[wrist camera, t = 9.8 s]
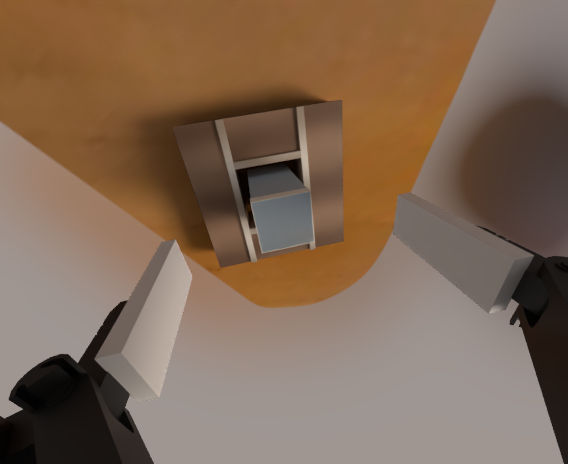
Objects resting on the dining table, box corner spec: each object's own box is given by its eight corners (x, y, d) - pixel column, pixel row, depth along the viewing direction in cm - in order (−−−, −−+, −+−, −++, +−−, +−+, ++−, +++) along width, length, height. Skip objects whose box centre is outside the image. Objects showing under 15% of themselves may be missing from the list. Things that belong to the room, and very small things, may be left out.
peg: (246, 169, 24) (250, 202, 15) (284, 162, 24) (310, 190, 15) (254, 205, 26) (261, 253, 17) (289, 198, 26) (314, 242, 17)
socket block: (181, 124, 21) (170, 127, 17) (327, 101, 22) (343, 99, 19) (222, 250, 27) (220, 269, 24) (332, 227, 29) (344, 242, 25)
